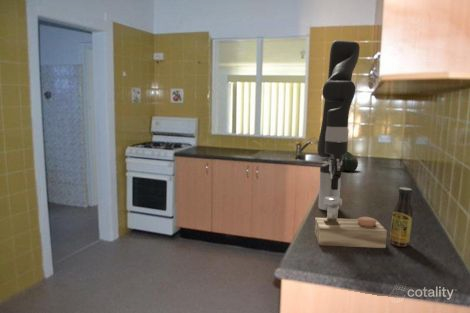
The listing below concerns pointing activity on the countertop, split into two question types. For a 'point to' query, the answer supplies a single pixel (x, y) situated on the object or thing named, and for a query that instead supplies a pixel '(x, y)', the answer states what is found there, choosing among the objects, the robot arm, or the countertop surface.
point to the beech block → (349, 233)
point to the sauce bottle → (402, 219)
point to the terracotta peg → (367, 222)
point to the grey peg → (332, 208)
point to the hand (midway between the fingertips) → (334, 189)
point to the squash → (349, 162)
